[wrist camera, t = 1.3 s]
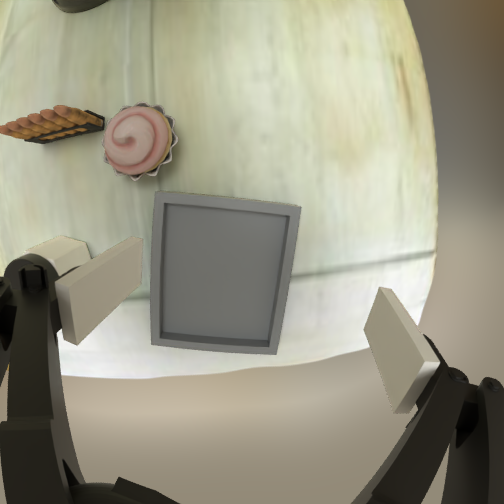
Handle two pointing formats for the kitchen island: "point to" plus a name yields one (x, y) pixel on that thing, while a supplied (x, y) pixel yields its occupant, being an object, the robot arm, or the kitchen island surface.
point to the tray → (220, 271)
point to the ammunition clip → (54, 125)
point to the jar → (50, 258)
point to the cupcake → (139, 140)
